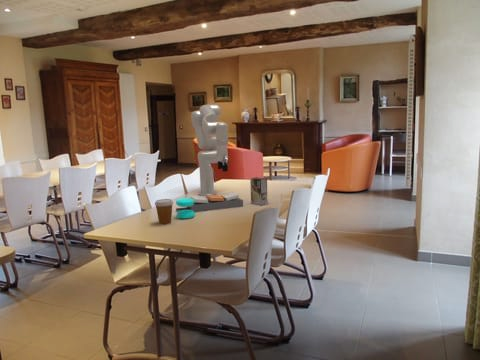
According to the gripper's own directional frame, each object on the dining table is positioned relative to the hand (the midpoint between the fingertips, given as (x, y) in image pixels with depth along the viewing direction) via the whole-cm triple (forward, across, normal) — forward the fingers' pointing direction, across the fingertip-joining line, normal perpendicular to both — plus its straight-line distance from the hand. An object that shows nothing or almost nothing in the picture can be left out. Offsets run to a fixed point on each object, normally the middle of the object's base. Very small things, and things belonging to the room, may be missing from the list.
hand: (222, 170), depth 252 cm
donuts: (+21, +24, -30) cm, 44 cm away
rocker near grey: (+16, +8, -18) cm, 26 cm away
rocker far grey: (+16, +8, +2) cm, 18 cm away
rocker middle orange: (+16, +8, -8) cm, 20 cm away
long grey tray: (+21, +8, -12) cm, 26 cm away
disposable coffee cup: (+20, +31, -43) cm, 57 cm away
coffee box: (+21, +12, +20) cm, 31 cm away
